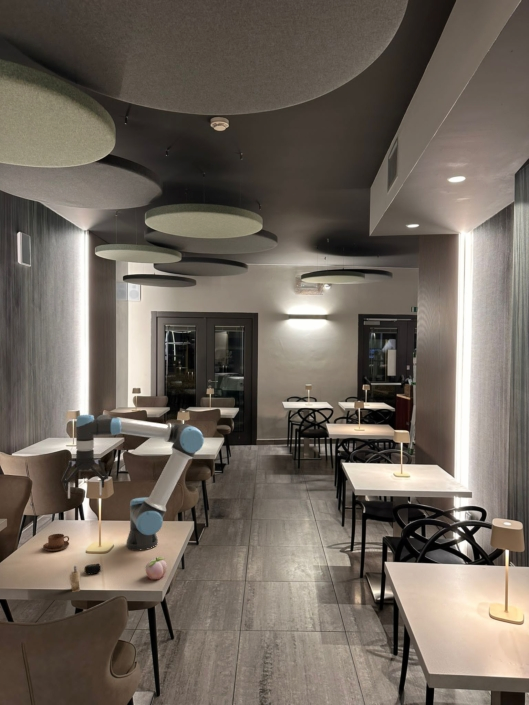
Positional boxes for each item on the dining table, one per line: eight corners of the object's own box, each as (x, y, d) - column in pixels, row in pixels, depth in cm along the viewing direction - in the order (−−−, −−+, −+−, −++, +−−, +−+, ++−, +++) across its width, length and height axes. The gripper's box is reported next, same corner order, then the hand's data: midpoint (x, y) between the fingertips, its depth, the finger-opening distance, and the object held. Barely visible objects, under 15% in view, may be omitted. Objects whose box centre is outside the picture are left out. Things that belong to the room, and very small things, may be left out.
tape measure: (101, 573, 235) (100, 564, 236) (84, 576, 233) (83, 567, 234) (101, 571, 242) (100, 562, 242) (84, 574, 240) (84, 565, 240)
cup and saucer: (60, 542, 277) (60, 530, 277) (74, 547, 269) (74, 535, 269) (38, 549, 267) (38, 536, 267) (51, 555, 260) (51, 542, 260)
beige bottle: (79, 586, 223) (79, 564, 223) (79, 589, 221) (79, 567, 221) (71, 587, 222) (71, 565, 222) (71, 590, 220) (71, 568, 219)
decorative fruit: (153, 574, 238) (153, 552, 238) (169, 578, 234) (169, 554, 234) (141, 583, 229) (141, 559, 229) (157, 586, 226) (157, 562, 226)
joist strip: (77, 575, 236) (77, 573, 236) (80, 593, 219) (80, 590, 219) (70, 576, 235) (70, 574, 235) (72, 594, 218) (72, 591, 218)
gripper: (112, 446, 254) (112, 491, 255) (55, 449, 245) (55, 496, 245) (114, 449, 247) (114, 495, 248) (55, 452, 238) (55, 501, 238)
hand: (84, 496), depth 246 cm, fingers open, 13 cm apart
